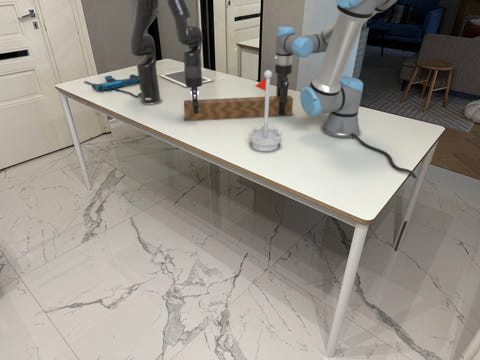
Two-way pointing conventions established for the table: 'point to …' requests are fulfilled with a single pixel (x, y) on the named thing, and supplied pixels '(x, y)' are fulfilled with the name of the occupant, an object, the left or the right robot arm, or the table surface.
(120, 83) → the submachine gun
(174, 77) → the tablet
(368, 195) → the table surface
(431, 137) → the table surface
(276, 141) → the flag stand
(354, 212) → the table surface
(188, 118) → the beam
